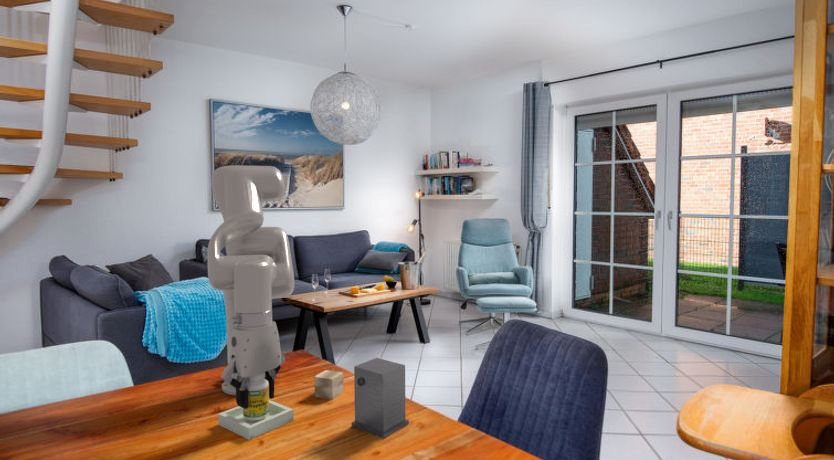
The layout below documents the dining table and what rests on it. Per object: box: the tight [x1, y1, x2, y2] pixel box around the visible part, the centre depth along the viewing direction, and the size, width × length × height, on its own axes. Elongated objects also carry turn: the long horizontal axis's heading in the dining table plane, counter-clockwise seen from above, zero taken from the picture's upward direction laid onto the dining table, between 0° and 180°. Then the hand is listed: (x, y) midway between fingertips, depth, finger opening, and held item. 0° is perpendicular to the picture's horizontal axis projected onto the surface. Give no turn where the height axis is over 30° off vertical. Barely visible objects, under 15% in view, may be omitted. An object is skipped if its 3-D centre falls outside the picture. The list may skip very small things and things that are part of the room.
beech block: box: [313, 369, 344, 401], centre depth 124 cm, size 5×5×5 cm
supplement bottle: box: [243, 372, 270, 420], centre depth 108 cm, size 5×5×10 cm
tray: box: [217, 399, 295, 441], centre depth 108 cm, size 11×11×2 cm
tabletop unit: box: [351, 357, 410, 439], centre depth 107 cm, size 9×8×13 cm
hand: (255, 400), depth 108 cm, fingers open, 5 cm apart
